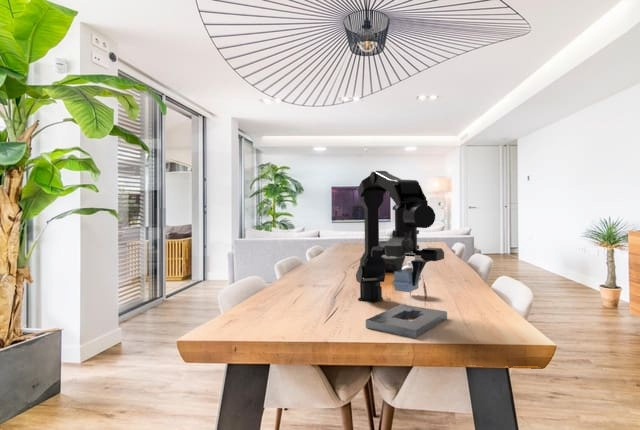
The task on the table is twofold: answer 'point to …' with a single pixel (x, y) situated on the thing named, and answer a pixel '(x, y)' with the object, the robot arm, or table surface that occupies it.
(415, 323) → the chassis plate
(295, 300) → the table surface
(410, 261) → the spinning top
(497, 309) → the table surface
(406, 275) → the servo
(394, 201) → the robot arm
